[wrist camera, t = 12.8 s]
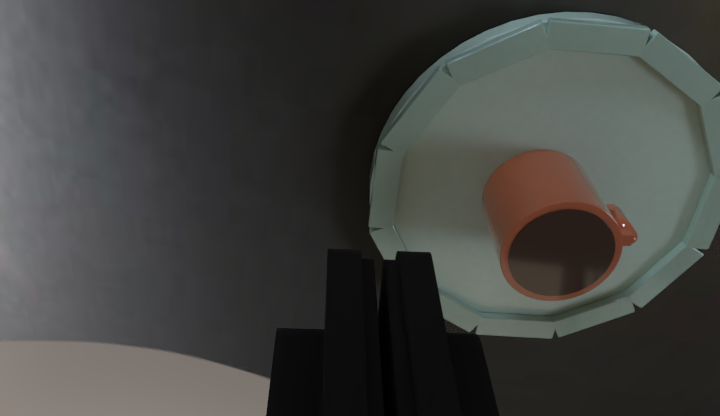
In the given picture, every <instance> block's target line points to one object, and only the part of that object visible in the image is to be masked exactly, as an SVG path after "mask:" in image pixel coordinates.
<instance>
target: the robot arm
mask: <svg viewBox="0 0 720 416" xmlns="http://www.w3.org/2000/svg"><path fill="white" fill-rule="evenodd" d="M266 416H499V413H498V409H497V405H496V401H495V396H494V392H493V388H492V384H491V380H490V376H489V372H488V368H487V364H486V360H485V356H484V352H483V348H482V344H481V341H480V338H479V336H478V335H477V334H464V333H446V328H445V323H444V318H443V312H442V307H441V302H440V296H439V291H438V286H437V281H436V275H435V270H434V265H433V259H432V255H431V253H430V252H411V251H397V252H396V257H395V260H386V259H384V261H383V267H382V278H381V289H380V299H379V310H378V313H377V298H376V283H375V268H374V259H361V250H353V249H328V256H327V280H326V304H325V328H324V329H290V328H277V331H276V338H275V346H274V355H273V363H272V372H271V380H270V389H269V397H268V405H267V415H266Z"/></svg>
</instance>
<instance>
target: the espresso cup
mask: <svg viewBox="0 0 720 416" xmlns="http://www.w3.org/2000/svg"><path fill="white" fill-rule="evenodd" d="M481 204H482V211H483V215H484V218H485V221H486V224H487V227H488V230H489V233H490V236H491V239H492V243H493V246H494V249H495V252H496V255H497V258H498V261H499V264H500V267H501V270H502V273H503V275H504V277H505V279H506V280H507V282H508V283H509V284H510V285H511V286H512V287H513V288H514V289H515V290H516V291H518V292H519V293H521V294H523V295H525V296H527V297H530V298H533V299H537V300H543V301H560V300H566V299H571V298H574V297H577V296H580V295H583V294H585V293H587V292H589V291H591V290H592V289H594V288H596V287H597V286H598V285H600V284H601V283H602V282H603V281H604V280H605V279H606V278H608V276H609V275H610V274H611V273H612V272H613V270H614V269H615V267H616V266H617V264H618V262H619V259H620V257H621V254H622V248H623V246H631V245H632V244H633V243H635V242H636V241H637V238H638V235H637V232H636V231H635V229H634V228H633V226H632V225H631V223H630V222H629V220H628V219H627V217H626V216H625V214H624V212H623V211H622V209H621V208H620V207H618V206H615V205H614V204H605V202H604V201H603V199H602V197H601V196H600V194H599V193H598V191H597V189H596V188H595V186H594V184H593V183H592V181H591V180H590V178H589V176H588V175H587V173H586V172H585V170H584V168H583V167H582V166H581V165H580V164H579V163H578V162H577V161H576V160H575V159H573V158H572V157H571V156H569V155H566V154H564V153H561V152H558V151H553V150H533V151H528V152H524V153H521V154H519V155H516V156H514V157H512V158H510V159H509V160H507V161H506V162H504V163H503V164H502V165H500V166H499V167H498V168H497V169H496V170H495V171H494V172H493V174H492V175H491V176H490V178H489V179H488V181H487V183H486V185H485V187H484V190H483V194H482V203H481Z"/></svg>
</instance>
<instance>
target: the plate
mask: <svg viewBox="0 0 720 416" xmlns="http://www.w3.org/2000/svg"><path fill="white" fill-rule="evenodd" d="M533 150H553V151H558V152H561V153H564V154H566V155H569V156H571V157H572V158H573V159H575V160H576V161H577V162H578V163H579V164H580V165H581V166H582V167H583V168H584V170H585V172H586V173H587V175H588V176H589V178H590V180H591V181H592V183H593V184H594V186H595V188H596V189H597V191H598V193H599V194H600V196H601V197H602V199H603V201H604V202H605V204H614V205H615V206H618V207H620V208H621V209H622V211H623V212H624V214H625V216H626V217H627V219H628V220H629V222H630V223H631V225H632V226H633V228H634V229H635V231H636V232H637V235H638V238H637V241H636V242H635V243H633V244H632V245H631V246H623V248H622V254H621V257H620V259H619V262H618V264H617V266H616V267H615V269H614V270H613V272H612V273H611V274H610V275H609V276H608V278H606V279H605V280H604V281H603V282H602V283H601V284H600V285H598V286H597V287H596V288H594V289H592V290H591V291H589V292H587V293H585V294H583V295H580V296H577V297H574V298H571V299H566V300H560V301H543V300H537V299H533V298H530V297H527V296H525V295H523V294H521V293H519V292H518V291H516V290H515V289H514V288H513V287H512V286H511V285H510V284H509V283H508V282H507V280H506V279H505V277H504V275H503V273H502V270H501V267H500V264H499V261H498V258H497V255H496V252H495V249H494V246H493V243H492V239H491V236H490V233H489V230H488V227H487V224H486V221H485V218H484V215H483V211H482V204H481V203H482V194H483V190H484V187H485V185H486V183H487V181H488V179H489V178H490V176H491V175H492V174H493V172H494V171H495V170H496V169H497V168H498V167H499V166H500V165H502V164H503V163H504V162H506V161H507V160H509V159H510V158H512V157H514V156H516V155H519V154H521V153H524V152H528V151H533ZM369 203H370V209H369V218H368V226H369V227H371V228H370V235H371V237H372V239H373V240H374V242H375V244H376V246H377V248H378V250H379V251H380V253H381V255H382V257H383V259H386V260H395V257H396V252H397V251H411V252H430V253H431V255H432V259H433V265H434V270H435V275H436V281H437V286H438V291H439V296H440V302H441V307H442V312H443V318H444V319H446V320H447V321H449V322H451V323H453V324H455V325H456V326H458V327H460V328H462V329H464V330H465V331H467V332H471V331H472V330H473V329H474V330H475V334H477V335H494V336H512V337H530V338H548V339H552V337H553V333H554V330H555V331H556V334H557V336H558V337H562V336H565V335H568V334H571V333H574V332H577V331H580V330H583V329H586V328H589V327H591V326H594V325H597V324H600V323H603V322H606V321H609V320H612V319H615V318H618V317H621V316H624V315H627V314H630V313H633V312H635V309H634V306H633V303H634V304H635V305H637V306H638V307H640V308H642V307H643V306H645V305H646V304H647V303H648V302H649V301H650V300H652V299H653V298H654V297H655V296H656V295H658V294H659V293H660V292H661V291H662V290H663V289H665V288H666V287H667V286H668V285H669V284H670V283H672V282H673V281H674V280H675V279H676V278H678V277H679V276H680V275H681V274H682V273H683V272H685V271H686V270H687V269H688V268H689V267H691V266H692V265H693V264H694V263H695V262H696V261H698V260H699V259H700V258H701V257H702V256H703V255H704V254H703V253H702V252H701V250H700V249H709V247H710V244H711V242H712V240H713V238H714V235H715V233H716V231H717V229H718V226H719V224H720V83H719V82H718V81H717V80H715V79H714V78H713V77H712V76H711V75H709V74H708V73H707V72H706V71H705V70H704V69H703V68H702V67H701V66H700V65H699V64H698V63H697V62H696V61H695V60H694V59H693V58H692V57H691V56H690V55H689V54H687V53H686V52H685V51H684V50H682V49H681V48H680V47H679V46H677V45H676V44H674V43H673V42H671V41H670V40H669V39H667V38H666V37H664V36H663V35H661V34H660V33H659V32H658V31H656V30H655V29H653V30H651V29H649V28H648V27H647V26H643V25H641V24H639V23H636V22H632V21H629V20H626V19H623V18H620V17H616V16H610V15H604V14H597V13H591V12H560V13H551V14H541V15H536V16H531V17H527V18H523V19H519V20H515V21H511V22H508V23H506V24H503V25H500V26H497V27H495V28H492V29H489V30H487V31H485V32H483V33H481V34H479V35H477V36H475V37H473V38H471V39H469V40H467V41H465V42H463V43H462V44H460V45H459V46H457V47H456V48H454V49H453V50H451V51H450V52H448V53H447V54H445V55H444V56H443V57H441V58H440V59H439V60H438V61H436V62H435V63H434V64H433V65H432V66H431V67H430V68H428V69H427V70H426V71H425V72H424V73H423V74H421V76H420V77H419V78H418V79H417V80H416V81H415V82H414V83H413V84H412V86H411V87H410V88H409V89H408V90H407V91H406V92H405V94H404V95H403V96H402V98H401V99H400V101H399V102H398V104H397V105H396V107H395V108H394V109H393V111H392V112H391V114H390V116H389V118H388V120H387V122H386V124H385V126H384V128H383V130H382V132H381V134H380V137H379V140H378V143H377V146H376V149H375V152H374V155H373V160H372V165H371V171H370V181H369Z"/></svg>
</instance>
